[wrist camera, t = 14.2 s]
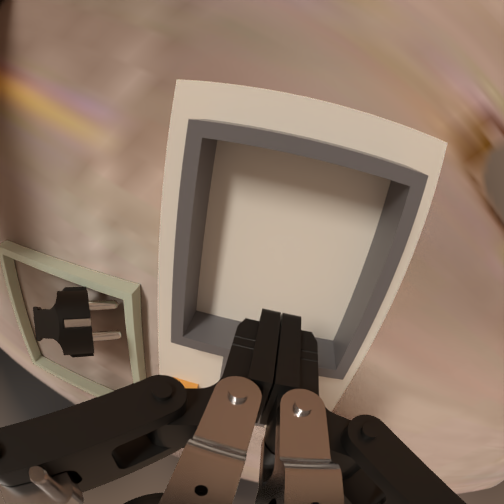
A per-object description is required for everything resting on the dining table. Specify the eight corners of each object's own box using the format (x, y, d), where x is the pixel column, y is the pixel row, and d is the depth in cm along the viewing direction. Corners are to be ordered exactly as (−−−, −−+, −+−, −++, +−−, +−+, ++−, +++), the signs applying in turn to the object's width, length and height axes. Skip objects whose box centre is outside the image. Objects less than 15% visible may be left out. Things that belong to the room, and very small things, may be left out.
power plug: (41, 294, 26) (27, 285, 17) (104, 292, 31) (122, 282, 21) (47, 346, 26) (36, 363, 16) (109, 342, 30) (130, 356, 20)
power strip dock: (185, 82, 16) (153, 72, 12) (437, 140, 15) (473, 148, 11) (166, 390, 28) (151, 422, 24) (315, 423, 27) (315, 458, 23)
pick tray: (6, 240, 24) (-3, 245, 22) (140, 284, 23) (131, 294, 21) (38, 357, 31) (33, 363, 30) (150, 407, 30) (145, 416, 29)
